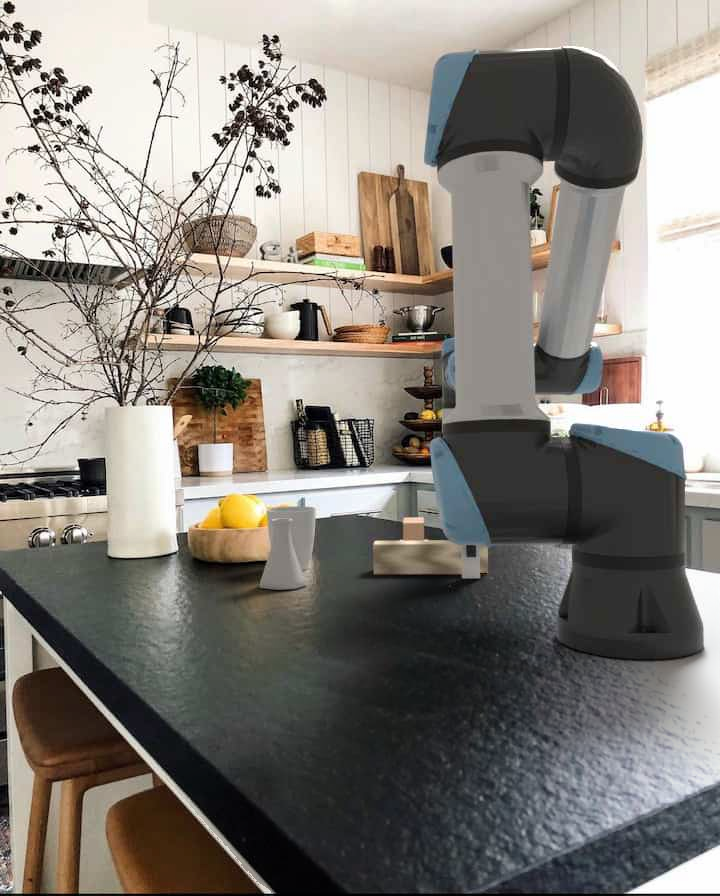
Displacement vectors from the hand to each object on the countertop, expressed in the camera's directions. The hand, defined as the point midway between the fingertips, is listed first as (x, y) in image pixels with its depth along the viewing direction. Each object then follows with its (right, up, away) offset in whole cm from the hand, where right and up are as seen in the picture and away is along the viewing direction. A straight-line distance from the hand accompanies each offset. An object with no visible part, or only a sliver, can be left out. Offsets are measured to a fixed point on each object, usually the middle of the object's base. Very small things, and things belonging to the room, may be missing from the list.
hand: (468, 570), depth 131 cm
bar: (-6, -1, 0) cm, 6 cm away
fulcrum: (-8, 0, +11) cm, 14 cm away
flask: (-29, -1, -9) cm, 30 cm away
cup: (-29, -1, +5) cm, 29 cm away
